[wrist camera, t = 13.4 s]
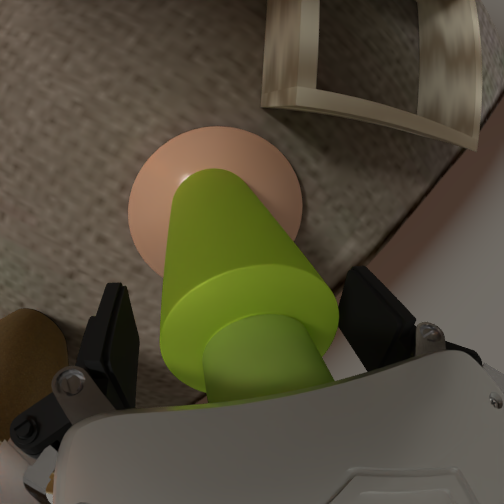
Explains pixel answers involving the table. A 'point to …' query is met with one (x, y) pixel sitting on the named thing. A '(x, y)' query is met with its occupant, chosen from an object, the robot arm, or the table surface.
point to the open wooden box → (329, 103)
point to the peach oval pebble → (206, 157)
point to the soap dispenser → (240, 296)
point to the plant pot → (27, 365)
